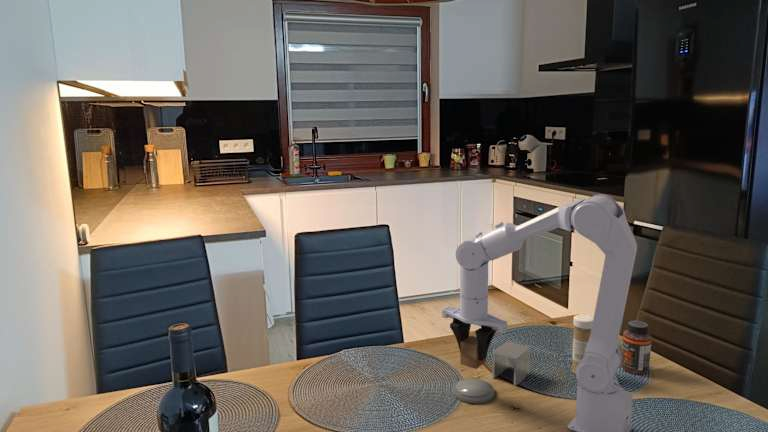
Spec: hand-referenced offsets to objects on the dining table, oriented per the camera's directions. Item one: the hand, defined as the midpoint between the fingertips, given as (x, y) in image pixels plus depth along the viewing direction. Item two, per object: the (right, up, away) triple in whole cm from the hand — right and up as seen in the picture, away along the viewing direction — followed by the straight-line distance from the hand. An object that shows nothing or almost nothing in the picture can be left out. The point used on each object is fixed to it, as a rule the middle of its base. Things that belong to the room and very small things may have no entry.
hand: (473, 356), depth 114 cm
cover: (+10, -7, +9) cm, 15 cm away
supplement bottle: (+39, -6, +10) cm, 41 cm away
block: (0, -2, 0) cm, 2 cm away
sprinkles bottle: (+26, -6, +9) cm, 29 cm away
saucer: (0, -8, +2) cm, 8 cm away
